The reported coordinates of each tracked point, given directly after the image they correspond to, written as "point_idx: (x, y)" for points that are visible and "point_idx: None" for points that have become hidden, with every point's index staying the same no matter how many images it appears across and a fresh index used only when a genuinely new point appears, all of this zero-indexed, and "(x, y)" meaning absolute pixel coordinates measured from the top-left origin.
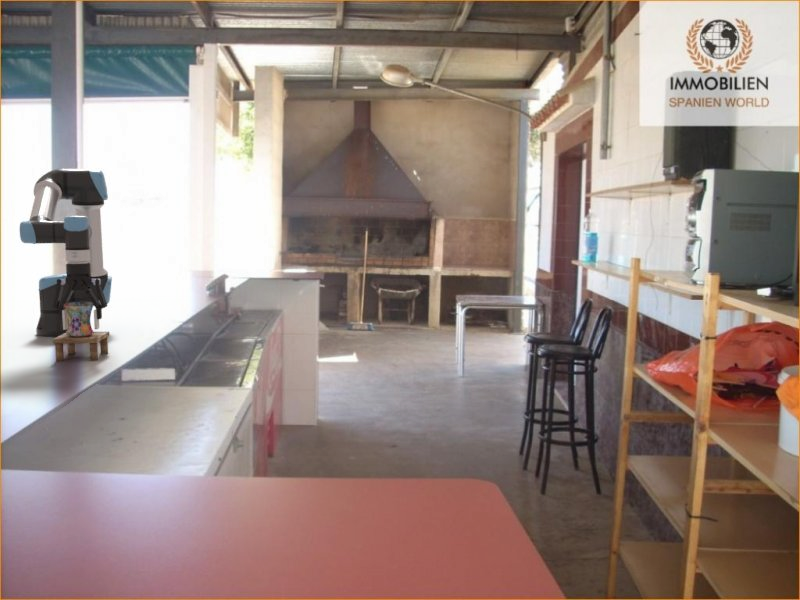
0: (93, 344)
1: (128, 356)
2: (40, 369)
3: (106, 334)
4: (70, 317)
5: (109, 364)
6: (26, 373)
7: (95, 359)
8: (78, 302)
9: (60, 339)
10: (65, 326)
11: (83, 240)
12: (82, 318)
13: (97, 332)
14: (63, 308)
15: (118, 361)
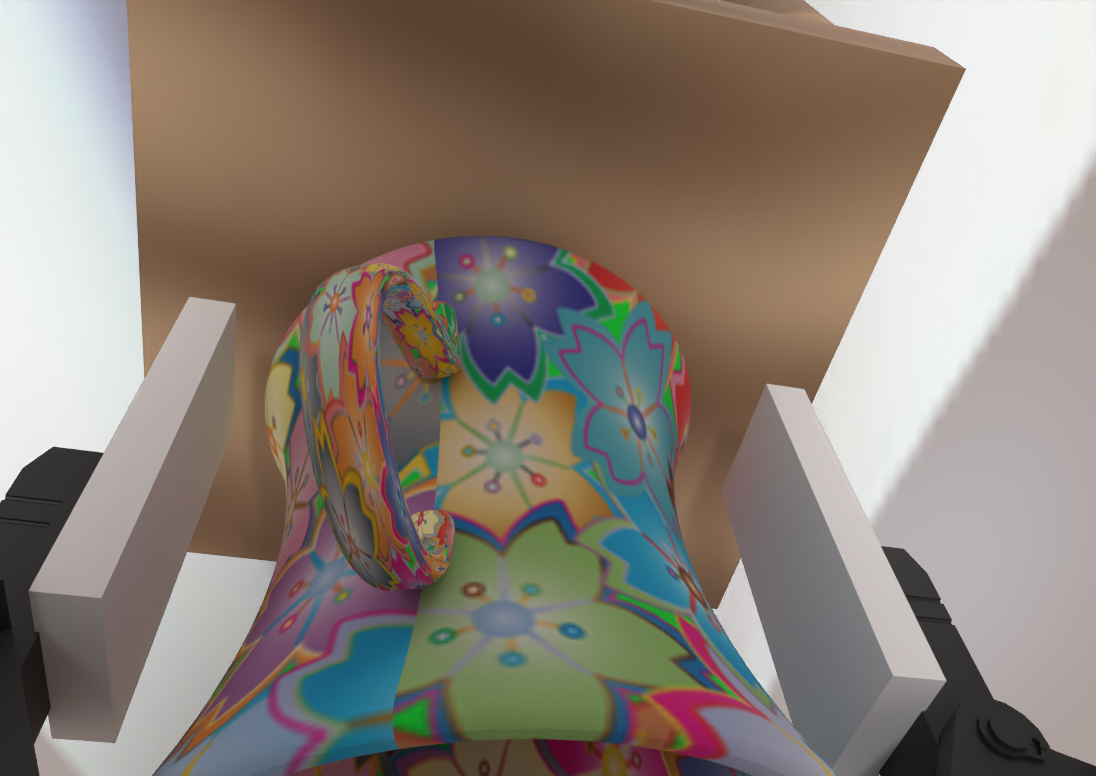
0: None
1: (998, 280)
2: (232, 633)
3: (881, 225)
4: (347, 762)
5: None
6: (177, 717)
7: None
8: (410, 743)
9: (265, 557)
10: (220, 455)
11: None
12: (567, 753)
13: (747, 125)
14: (29, 708)
15: (858, 479)
